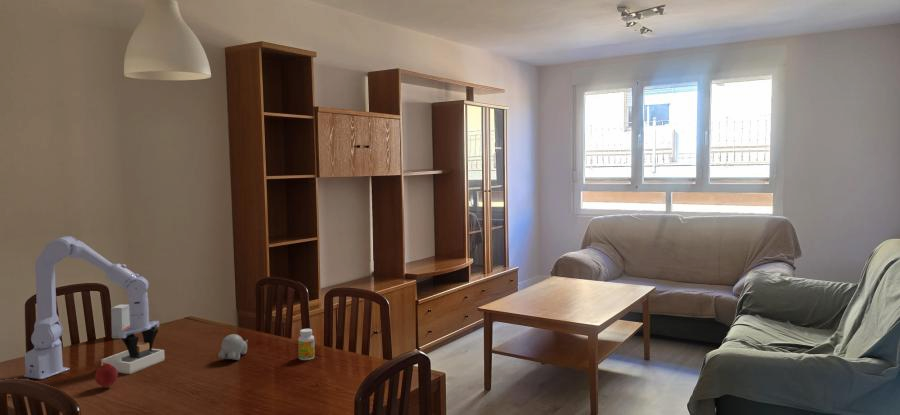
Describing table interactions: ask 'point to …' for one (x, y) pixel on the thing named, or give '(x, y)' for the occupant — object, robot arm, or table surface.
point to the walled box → (134, 361)
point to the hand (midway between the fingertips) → (140, 353)
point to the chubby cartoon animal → (233, 347)
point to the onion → (106, 375)
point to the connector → (142, 350)
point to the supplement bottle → (306, 345)
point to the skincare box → (119, 319)
